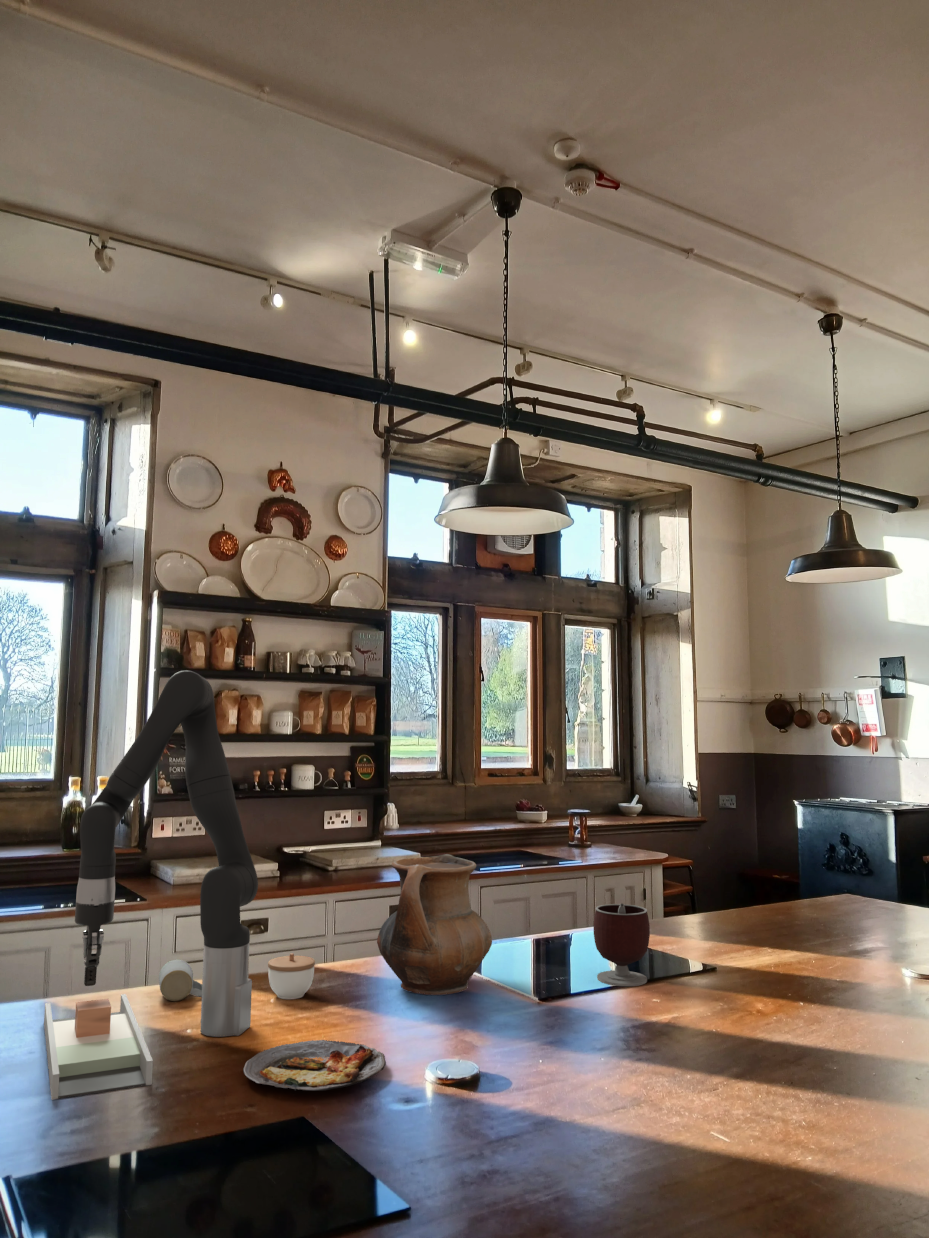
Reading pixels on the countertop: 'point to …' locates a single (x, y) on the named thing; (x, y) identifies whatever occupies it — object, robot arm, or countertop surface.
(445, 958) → the jug
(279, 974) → the lidded jar
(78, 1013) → the block
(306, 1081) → the food plate
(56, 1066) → the trap channel
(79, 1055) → the pad
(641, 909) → the mate gourd
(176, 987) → the ceramic mug
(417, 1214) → the countertop surface
